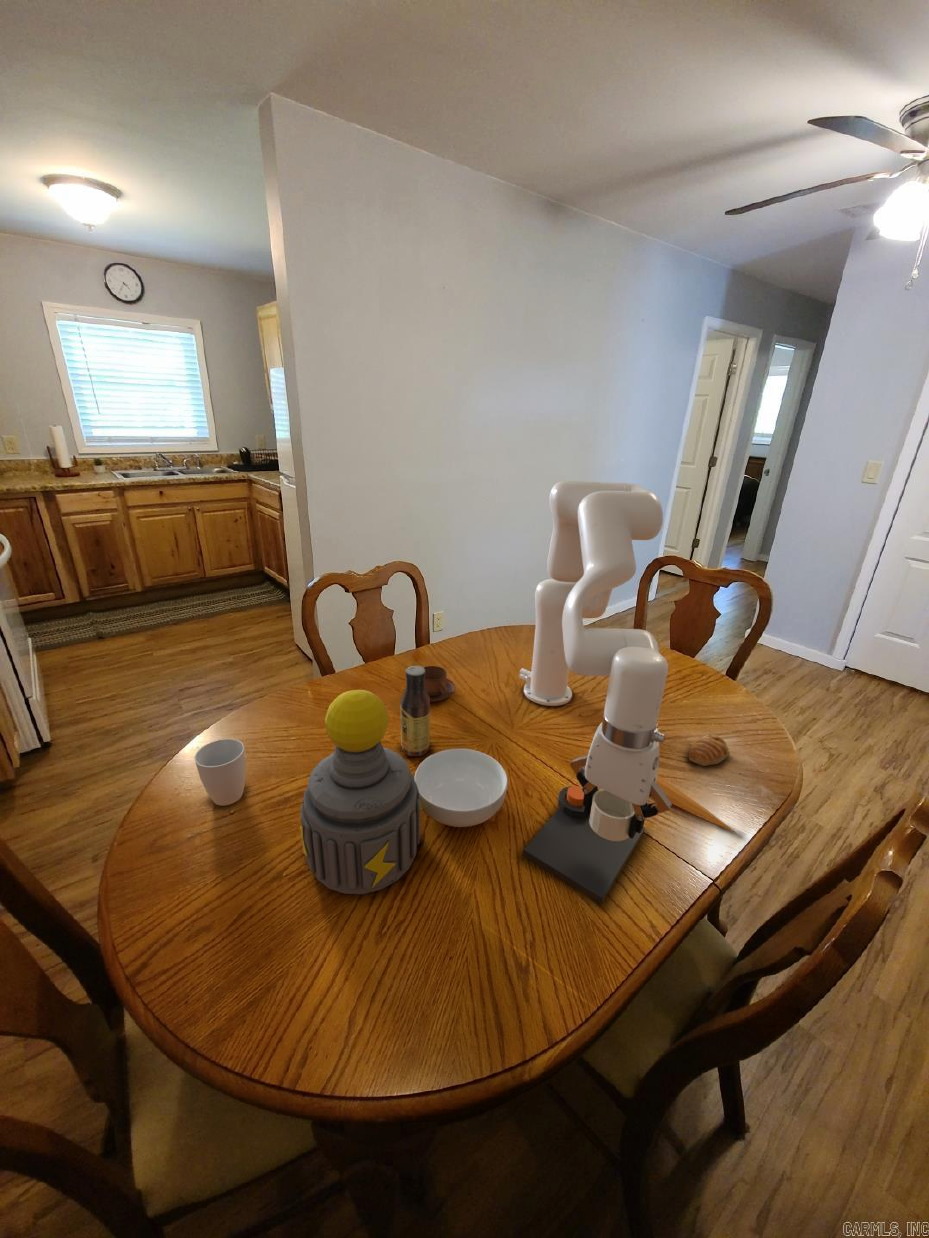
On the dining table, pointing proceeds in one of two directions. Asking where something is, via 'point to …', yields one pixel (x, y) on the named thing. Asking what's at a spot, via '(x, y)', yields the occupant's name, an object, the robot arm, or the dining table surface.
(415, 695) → the sauce bottle
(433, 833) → the dining table surface
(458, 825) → the cereal bowl
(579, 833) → the scale
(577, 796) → the power button
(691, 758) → the pastry
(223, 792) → the cup
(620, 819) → the small bowl
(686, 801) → the carrot
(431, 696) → the cup and saucer
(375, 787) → the decorative lamp
